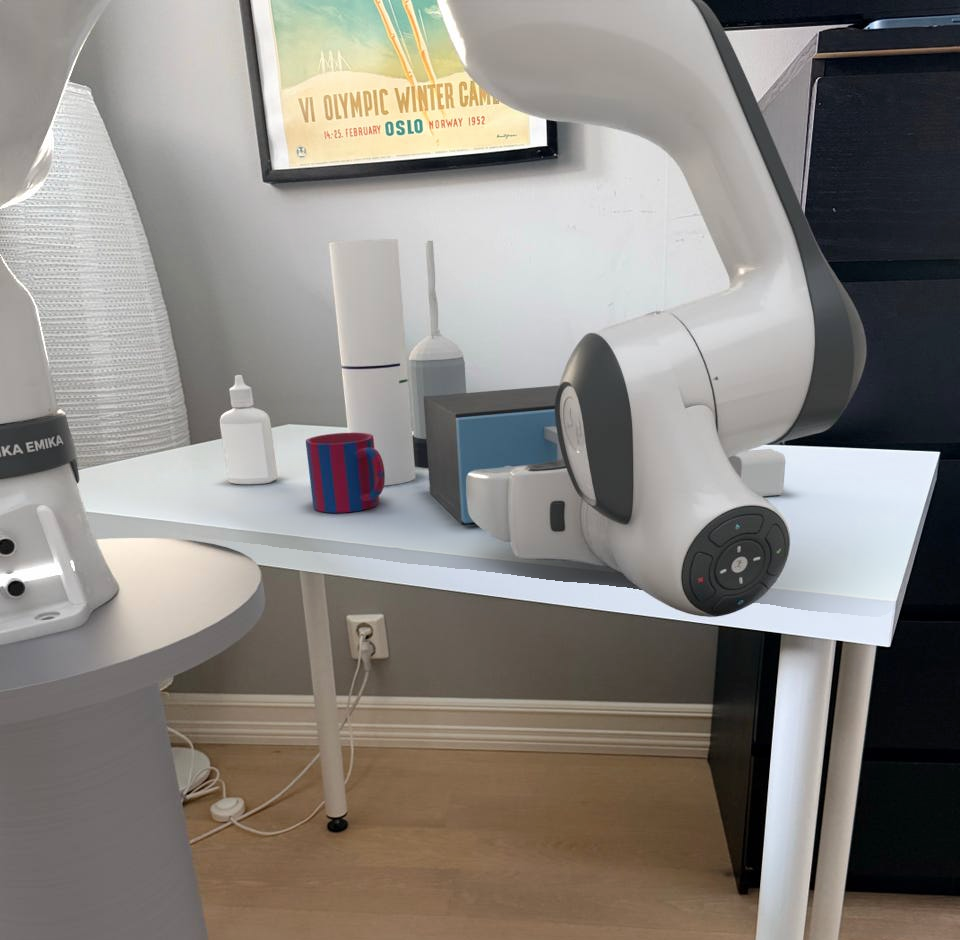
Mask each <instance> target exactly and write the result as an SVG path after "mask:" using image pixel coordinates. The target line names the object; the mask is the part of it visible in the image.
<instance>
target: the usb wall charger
mask: <svg viewBox="0 0 960 940" xmlns="http://www.w3.org/2000/svg"><path fill="white" fill-rule="evenodd" d="M728 460H729V461H730V463H731V465H732V466H733V468H734V469H735V471H736V472H737V474H738V475H739V477H740V478H741V479H742V480H744V481H745V482H746V485H747V486H748V487H749V488H750V489H752V490H754V491H755V492H757V493H758V494H760V495H761V496H762V497H773V496H782V494H783V492H784V486H785V485H784V484H785V472H786V457H785V454H784V453H782V452H779V451H778V450H774V449H772V448H763V449H751V450H748V451H745V452H742V453H739V454H737V455H734V456H731V457H728Z"/></svg>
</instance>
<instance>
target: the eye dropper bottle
mask: <svg viewBox="0 0 960 940" xmlns="http://www.w3.org/2000/svg"><path fill="white" fill-rule="evenodd" d="M228 391H229V398H230V405H231V407H232V409H229V410H227V411H225V412H224V413H222V414H221V416H220V417H219V428H220V436H221V442H222V449H223V455H224V463H225V468H226V469H225V471H226V475H227V480H228V482H229V483H231V484H234V485H264V484H265V485H266V484H269V483H272V482H274V481H276V480H277V479H278V467H277V461H276V460H277V459H276V453H275V446H274V445H275V444H274V439H273V430H272V424H271V419H270V416H269V414H268V413H266V412H265V411H264V410H262V409H259V408H255V407H254V398H253V391H252V387H251V386H249V385H246V383H245V381H244V378H243V376H242V374H237V375H235V376H234V385H232V387H230V388H229V390H228Z"/></svg>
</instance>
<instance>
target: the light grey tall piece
mask: <svg viewBox="0 0 960 940" xmlns="http://www.w3.org/2000/svg"><path fill="white" fill-rule="evenodd" d="M425 255H426V269H427V271H426V272H427V294H428V295H427V296H428V304H429V318H430V329H429V334H428V335H427V336H426V337H425V338H424V339H422V340H420V341H419V342H418V343H417V344H416V345H415V346H414V347H413V349H411V352H410V353H409V356H408V365H407V368H408V381H409V395H410V408H411V421H412V437H413V450H414V463H415V467H418V468H428V455H427V441H426V426H425V412H424V397H425V396H437V395H449V394H461V393H467V379H466V363H465V358H464V353H463V352H462V350H461V348H460V347H459V346H458V345H457V344H456V343H455V342H454V341H452V340H451V339H449V338H447V337H445V336H444V335H442V333H441V331H440V329H439V305H438V298H437V293H436V292H437V291H436V266H435V265H436V264H435V251H434V241H433V240H426V243H425Z"/></svg>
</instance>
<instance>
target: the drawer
mask: <svg viewBox="0 0 960 940" xmlns="http://www.w3.org/2000/svg"><path fill="white" fill-rule="evenodd" d="M456 433H457V451H458V468H459V486H460V503H461V520H462V521H463V522H464V523H470V524H472V523H471V522H474V521H473V520H472V519H471V518H470V516H469V513H468V508H467V497H466V477H467V474H468V473H469V472H471V471H473V470H478V469H491V468H501V467H504V466H510V465H532V464H539V463H545V462H550V461H555V460H560V459H563V456H562V452H561V449H560V444H559V440H558V434H557V428H556V421H555V409H551V410H540V411H528V412H517V413H506V414H494V415H483V416H472V417H460V418H456Z"/></svg>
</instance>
